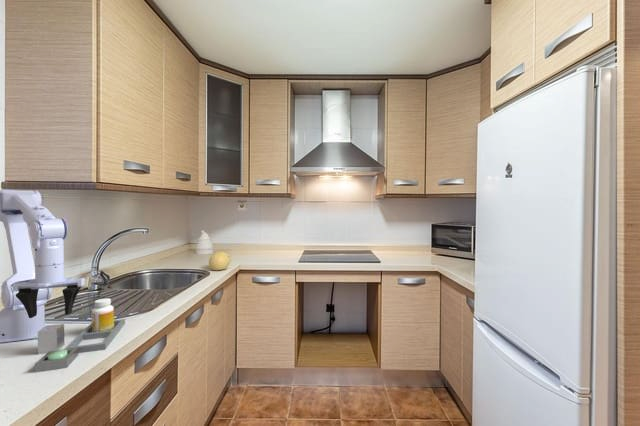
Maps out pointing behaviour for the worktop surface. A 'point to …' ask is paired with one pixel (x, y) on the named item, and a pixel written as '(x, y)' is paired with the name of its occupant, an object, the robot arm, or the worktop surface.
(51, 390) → the worktop surface
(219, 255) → the yellow round fruit
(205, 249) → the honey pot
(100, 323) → the supplement bottle
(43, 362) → the grey square tray
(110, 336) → the pallet frame
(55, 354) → the button
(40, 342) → the block
